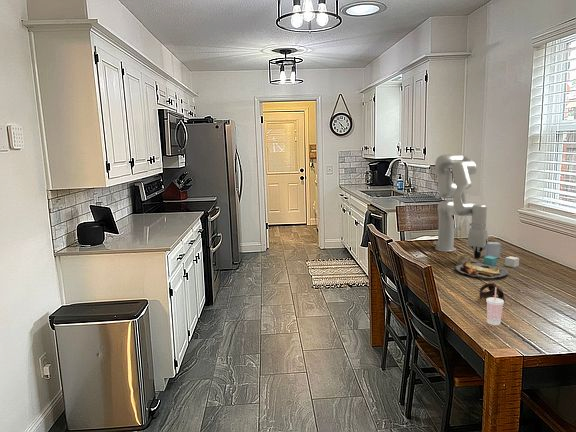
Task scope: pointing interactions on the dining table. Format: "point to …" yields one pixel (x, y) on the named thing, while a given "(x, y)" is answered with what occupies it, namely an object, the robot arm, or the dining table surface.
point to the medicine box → (493, 249)
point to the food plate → (480, 270)
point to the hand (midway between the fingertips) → (477, 258)
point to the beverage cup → (494, 309)
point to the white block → (512, 261)
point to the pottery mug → (491, 291)
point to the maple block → (463, 258)
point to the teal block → (490, 260)
